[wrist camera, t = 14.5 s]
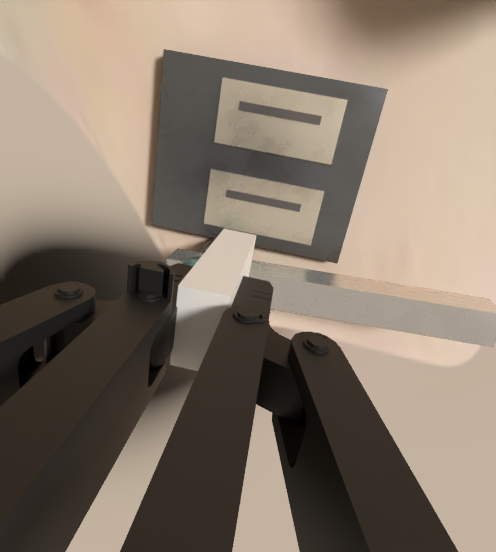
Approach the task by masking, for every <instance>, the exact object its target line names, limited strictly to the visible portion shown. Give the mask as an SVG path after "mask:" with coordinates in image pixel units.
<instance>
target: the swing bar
mask: <svg viewBox="0 0 496 552" xmlns="http://www.w3.org/2000/svg"><path fill="white" fill-rule="evenodd" d="M203 254H204V253H203V252H197V251H191V250H185V249H179V248H178V249H177V250H176V251H175V252H174V253H173V254H172V255H170V256H169V257H168V258H167V265H169V266H171V265H174V264H177V263H180V264H185V265H190V266H194V265H195V264H196V263H197V261H198V260H199V259H200V258H201V256H202V255H203ZM249 277H251V278H256V279H261V280H265V281H269V282H270V283H271V285H272V286H273V288H274V289H273V295H272V302H271V308H270V309H274V310H279V311H285V312H291V313H297V314H303V315H308V316H314V317H320V318H326V319H332V320H337V321H343V322H349V323H355V324H361V325H366V326H372V327H378V328H384V329H390V330H395V331H401V332H407V333H413V334H419V335H424V336H430V337H436V338H442V339H448V340H453V341H459V342H465V343H471V344H477V345H482V346H489V347H493V345H494V343H495V341H496V305H495V304H494V303H493V302H492V301H490V300H489V299H486V298H480V297H474V296H468V295H462V294H456V293H449V292H443V291H437V290H431V289H425V288H419V287H413V286H406V285H400V284H394V283H388V282H382V281H376V280H369V279H363V278H357V277H351V276H345V275H339V274H333V273H326V272H320V271H314V270H308V269H302V268H296V267H289V266H283V265H277V264H271V263H265V262H259V261H253V260H252V262H251V267H250V272H249Z"/></svg>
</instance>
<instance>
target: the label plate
mask: <svg viewBox="0 0 496 552" xmlns="http://www.w3.org/2000/svg"><path fill="white" fill-rule="evenodd" d="M387 91H388V89H384V88H378V87H372V86H367V85H361V84H356V83H350V82H344V81H339V80H333V79H328V78H322V77H316V76H311V75H305V74H300V73H294V72H288V71H283V70H277V69H272V68H266V67H260V66H255V65H249V64H244V63H238V62H232V61H227V60H221V59H215V58H210V57H204V56H199V55H193V54H187V53H182V52H176V51H171V50H165V49H164V55H163V69H162V83H161V98H160V112H159V127H158V141H157V156H156V170H155V185H154V199H153V213H152V225H155V226H160V227H165V228H170V229H174V230H179V231H184V232H189V233H194V234H198V235H203V236H208V237H213V238H217V237H218V235H219V234H220V233H221V232H222V230H223V229H229V230H234V231H238V232H243V233H248V234H253V235H256V241H255V246H256V247H261V248H266V249H271V250H275V251H280V252H285V253H290V254H295V255H299V256H304V257H309V258H314V259H319V260H323V261H328V262H333V263H337V262H338V259H339V255H340V252H341V249H342V245H343V242H344V238H345V235H346V231H347V228H348V225H349V221H350V218H351V214H352V211H353V207H354V204H355V200H356V197H357V194H358V190H359V187H360V183H361V180H362V176H363V173H364V170H365V166H366V163H367V159H368V156H369V152H370V149H371V146H372V142H373V139H374V135H375V132H376V128H377V125H378V121H379V118H380V115H381V111H382V108H383V104H384V101H385V97H386V94H387Z"/></svg>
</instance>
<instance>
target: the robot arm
mask: <svg viewBox="0 0 496 552" xmlns="http://www.w3.org/2000/svg"><path fill="white" fill-rule="evenodd" d="M255 241H256V235H253V234H248V233H243V232H238V231H234V230H229V229H223V230H222V232H221V233H220V234H219V235H218V237H217V238H216V239H215V240H214V242H213V243H212V244H211V245H210V246H209V248H208V249H207V250H206V251H205V253H204V254H203V255H202V256H201V258H200V259H199V260H198V261H197V263H196V264H195V265H194V266H190V265H185V264H180V263H177V264H174V265H171V266H169V265H167V264H164V263H161V262H156V261H155V262H154V261H139V262H133V263H131V264H129V265H128V281H127V292H126V293H125V294H124V295H123V296H121V298H119V299H118V300H117V301H109V300H96V298H95V296H96V292H95V290H94V288H93V287H91V286H89V285H88V284H83V283H80V282H73V281H68V282H64V283H58V284H53V285H50V286H47V287H45V288H42V289H40V290H37V291H34V292H32V293H29V294H27V295H24V296H21V297H19V298H16V299H14V300H11V301H9V302H6V303H4V304H1V305H0V552H65V551H66V550H67V548H68V546H69V544H70V542H71V540H72V539H73V537H74V535H75V533H76V532H77V530H78V528H79V526H80V524H81V523H82V521H83V519H84V517H85V515H86V514H87V512H88V510H89V508H90V506H91V505H92V503H93V501H94V499H95V498H96V496H97V494H98V492H99V490H100V488H101V487H102V485H103V483H104V481H105V480H106V478H107V476H108V474H109V472H110V471H111V469H112V467H113V465H114V464H115V462H116V460H117V458H118V456H119V455H120V453H121V451H122V449H123V447H124V446H125V444H126V442H127V440H128V438H129V436H130V435H131V433H132V431H133V429H134V428H135V426H136V424H137V422H138V420H139V418H140V417H141V415H142V413H143V412H144V410H145V408H146V406H147V404H148V403H149V401H150V399H151V397H152V395H153V394H154V392H155V390H156V388H157V386H158V385H159V383H160V381H161V379H162V377H163V376H164V373H165V366H166V359H167V357H168V356H169V354H170V352H171V359H170V365H174V366H178V367H182V368H187V369H191V370H196V371H198V373H197V375H196V377H195V379H194V382H193V384H192V386H191V389H190V391H189V393H188V396H187V398H186V400H185V403H184V405H183V407H182V410H181V412H180V414H179V416H178V419H177V421H176V424H175V426H174V428H173V430H172V433H171V435H170V437H169V440H168V442H167V444H166V447H165V449H164V451H163V454H162V456H161V458H160V460H159V463H158V465H157V467H156V470H155V472H154V474H153V477H152V479H151V481H150V484H149V486H148V488H147V491H146V493H145V495H144V498H143V500H142V502H141V504H140V507H139V509H138V511H137V514H136V516H135V518H134V521H133V523H132V525H131V528H130V530H129V532H128V535H127V537H126V540H125V542H124V544H123V546H122V549H121V551H120V552H232V548H233V542H234V536H235V530H236V523H237V517H238V511H239V505H240V499H241V493H242V486H243V480H244V474H245V467H246V461H247V455H248V450H249V443H250V437H251V431H252V425H253V419H254V413H255V407H256V404H257V405H259V406H261V407H263V408H265V409H267V410H268V411H270V412H272V413H273V414H272V423H273V427H274V432H275V437H276V441H277V446H278V451H279V456H280V461H281V465H282V470H283V475H284V479H285V484H286V489H287V493H288V498H289V503H290V508H291V513H292V517H293V522H294V526H295V531H296V536H297V541H298V546H299V550H300V552H458V551H457V549H456V547H455V545H454V543H453V542H452V540H451V539H450V537H449V535H448V533H447V531H446V530H445V528H444V526H443V525H442V523H441V521H440V519H439V518H438V516H437V514H436V512H435V511H434V509H433V507H432V505H431V504H430V502H429V500H428V499H427V497H426V495H425V493H424V492H423V490H422V488H421V486H420V485H419V483H418V481H417V480H416V478H415V476H414V474H413V473H412V471H411V469H410V467H409V466H408V464H407V462H406V460H405V459H404V457H403V455H402V454H401V452H400V450H399V448H398V447H397V445H396V443H395V441H394V440H393V438H392V436H391V435H390V433H389V431H388V429H387V428H386V426H385V424H384V422H383V421H382V419H381V417H380V415H379V414H378V412H377V410H376V409H375V407H374V405H373V404H372V402H371V400H370V398H369V396H368V395H367V393H366V391H365V390H364V388H363V386H362V384H361V383H360V381H359V379H358V378H357V376H356V374H355V372H354V371H353V369H352V367H351V365H350V364H349V362H348V360H347V359H346V357H345V355H344V353H343V351H342V350H341V348H340V347H339V346H338V345H337V343H336V342H334V341H333V340H331V339H330V338H328V337H327V336H325V335H322V334H320V333H313V332H300V333H297V334H295V335H294V336H293V338H292V340H290V339H287V338H285V337H283V336H281V335H279V334H278V333H276V332H275V331H274V330H273V329H272V328H271V327H270V325H269V314H270V308H271V302H272V295H273V289H274V288H273V286H272V285H271V283H270V282H269V281H265V280H261V279H256V278H251V277H249V272H250V267H251V262H252V257H253V251H254V246H255ZM42 340H44V346H45V355H43V356H42V357H40V358H37V359H35V358H34V351H33V345H35V344H37V343H39V342H41V341H42Z"/></svg>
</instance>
